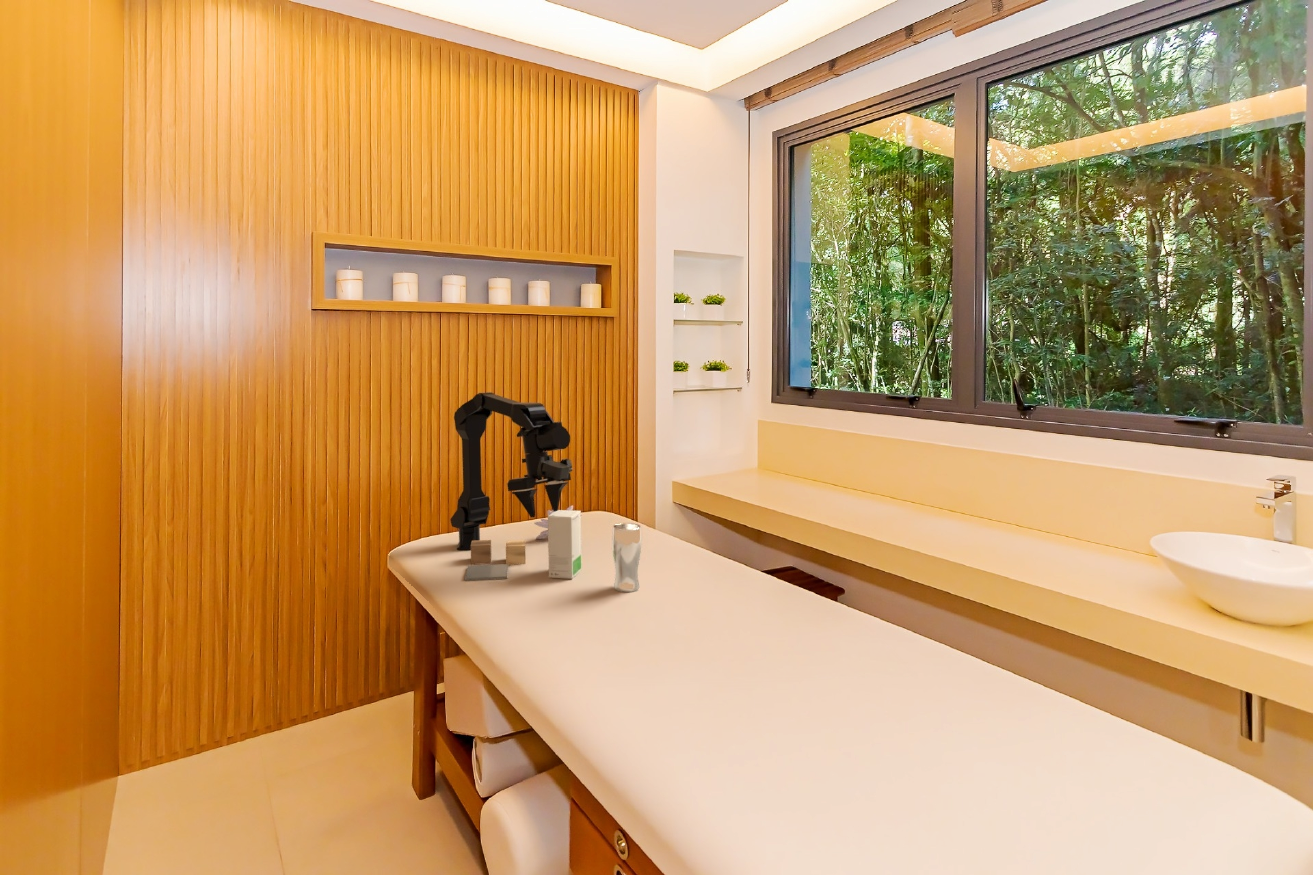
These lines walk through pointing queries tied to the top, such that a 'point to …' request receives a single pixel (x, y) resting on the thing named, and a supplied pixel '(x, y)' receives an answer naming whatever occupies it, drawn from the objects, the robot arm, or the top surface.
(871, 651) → the top surface
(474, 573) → the slate coaster
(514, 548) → the oak cube
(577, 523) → the skincare box
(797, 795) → the top surface
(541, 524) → the water lily
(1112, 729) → the top surface
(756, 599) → the top surface
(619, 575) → the beer glass
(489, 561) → the walnut cube
